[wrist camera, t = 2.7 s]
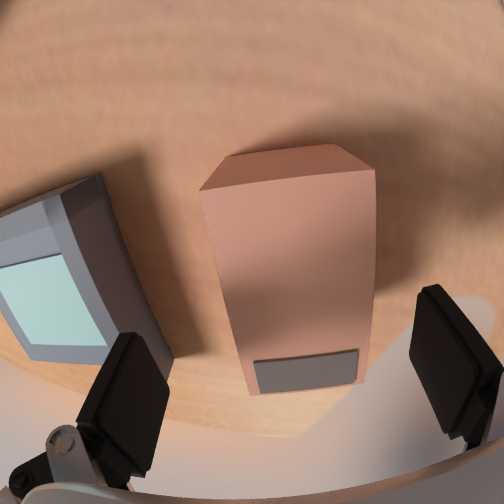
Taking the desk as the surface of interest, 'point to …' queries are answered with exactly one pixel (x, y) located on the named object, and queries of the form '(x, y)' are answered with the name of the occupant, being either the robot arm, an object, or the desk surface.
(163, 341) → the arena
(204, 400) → the desk surface
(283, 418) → the desk surface
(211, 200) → the terracotta block
